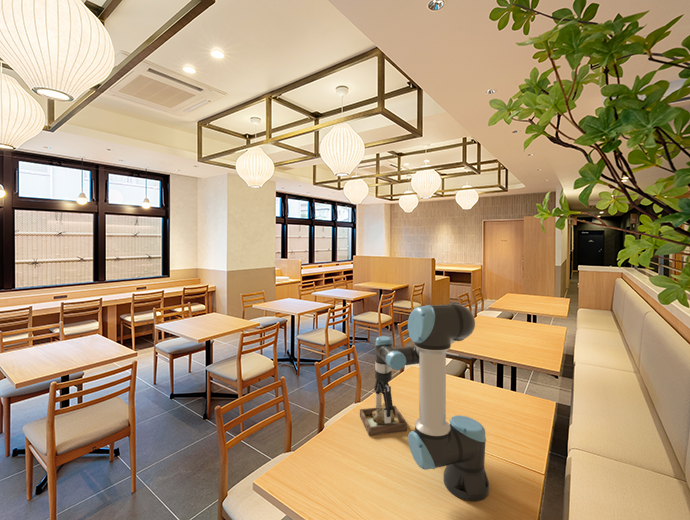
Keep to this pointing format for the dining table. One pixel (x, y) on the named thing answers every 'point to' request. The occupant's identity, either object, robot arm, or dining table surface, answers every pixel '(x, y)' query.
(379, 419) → the rock
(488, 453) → the dining table surface
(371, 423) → the pad
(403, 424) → the brown wooden tray
